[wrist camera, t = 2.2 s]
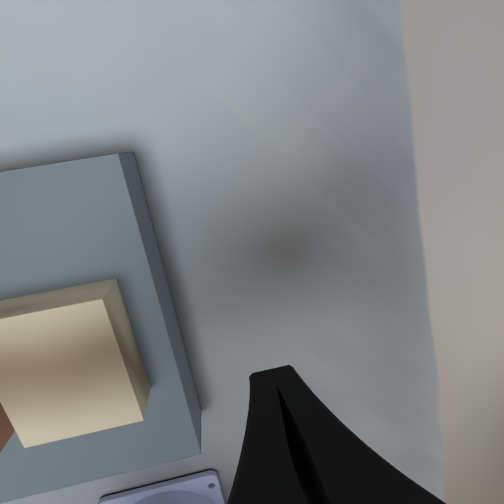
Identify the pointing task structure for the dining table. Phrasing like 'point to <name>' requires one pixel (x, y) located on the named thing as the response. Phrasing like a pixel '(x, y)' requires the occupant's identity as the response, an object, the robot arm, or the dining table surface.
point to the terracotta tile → (5, 428)
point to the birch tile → (70, 363)
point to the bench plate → (134, 298)
